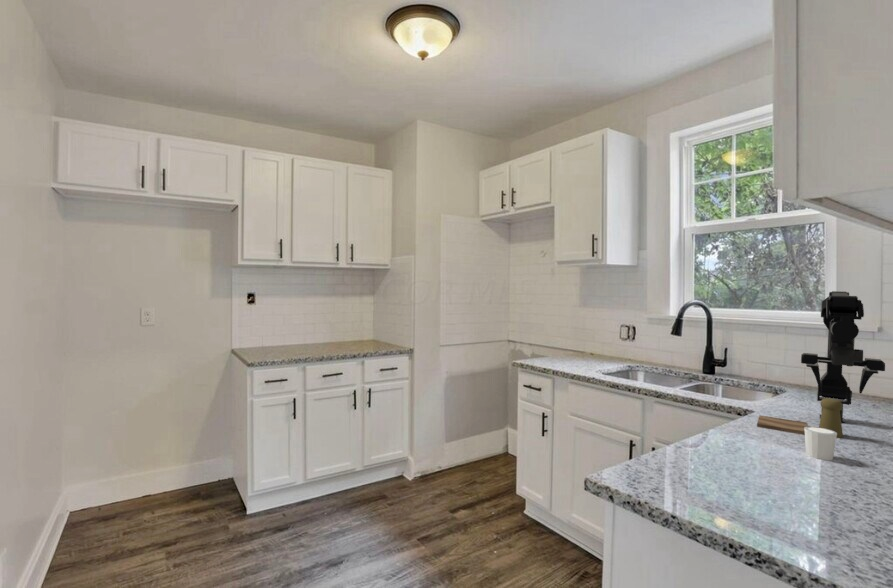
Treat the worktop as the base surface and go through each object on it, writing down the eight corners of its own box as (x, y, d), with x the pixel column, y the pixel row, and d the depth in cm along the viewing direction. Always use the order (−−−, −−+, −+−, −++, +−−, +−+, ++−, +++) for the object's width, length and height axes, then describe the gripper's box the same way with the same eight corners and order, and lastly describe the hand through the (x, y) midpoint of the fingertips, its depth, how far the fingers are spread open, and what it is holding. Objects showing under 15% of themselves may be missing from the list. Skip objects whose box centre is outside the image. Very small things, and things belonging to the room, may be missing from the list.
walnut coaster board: (759, 418, 161) (759, 415, 161) (807, 425, 153) (807, 422, 153) (756, 426, 151) (757, 423, 151) (807, 435, 143) (808, 431, 143)
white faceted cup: (831, 454, 126) (832, 428, 126) (839, 462, 120) (841, 435, 120) (800, 450, 129) (801, 424, 129) (806, 458, 123) (807, 431, 123)
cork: (833, 432, 147) (835, 397, 147) (848, 438, 141) (849, 401, 141) (812, 431, 147) (814, 396, 147) (826, 437, 141) (828, 400, 141)
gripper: (802, 337, 138) (800, 390, 138) (889, 343, 126) (886, 400, 127) (802, 334, 146) (800, 384, 147) (883, 340, 135) (881, 394, 135)
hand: (839, 390), depth 139 cm, fingers open, 9 cm apart
